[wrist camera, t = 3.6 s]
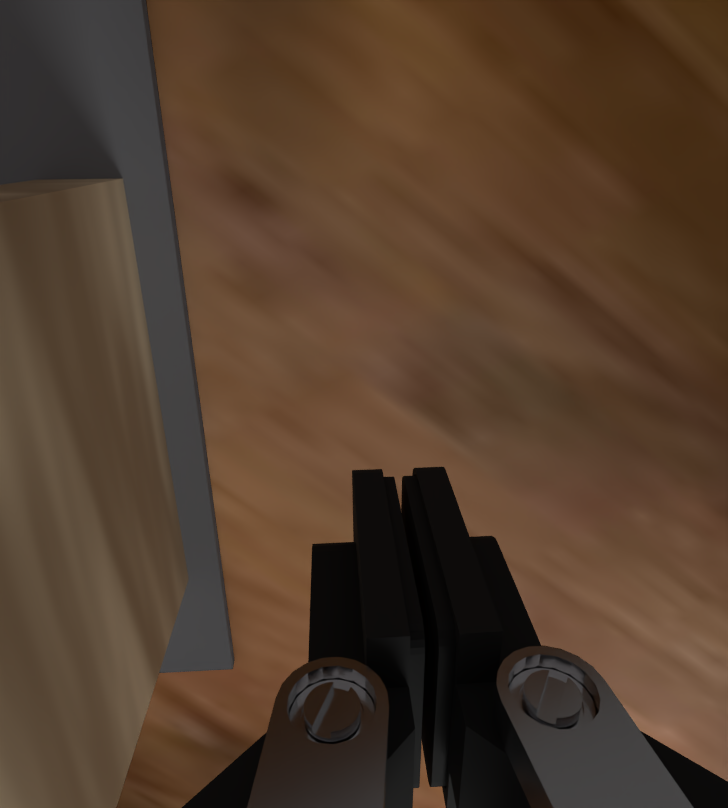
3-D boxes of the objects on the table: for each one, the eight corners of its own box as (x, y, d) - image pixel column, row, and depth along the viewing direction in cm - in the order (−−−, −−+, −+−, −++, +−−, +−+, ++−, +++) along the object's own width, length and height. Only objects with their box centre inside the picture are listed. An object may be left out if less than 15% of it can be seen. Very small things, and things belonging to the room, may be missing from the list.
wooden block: (122, 178, 14) (-249, 250, 5) (188, 579, 19) (61, 983, 10) (20, 180, 14) (-547, 256, 5) (112, 582, 19) (-88, 995, 10)
